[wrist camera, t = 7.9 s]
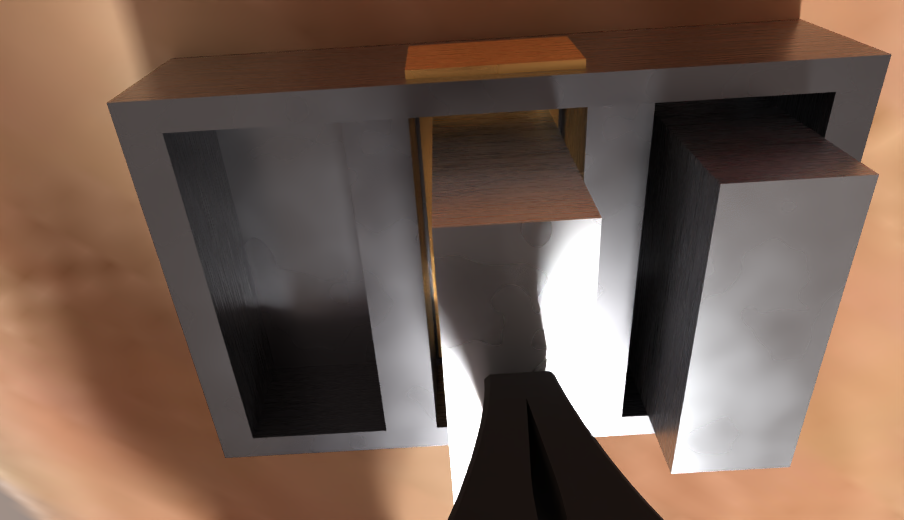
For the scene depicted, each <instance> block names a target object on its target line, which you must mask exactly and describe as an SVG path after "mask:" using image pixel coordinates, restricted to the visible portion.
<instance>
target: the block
mask: <svg viewBox="0 0 904 520" xmlns="http://www.w3.org/2000/svg"><path fill="white" fill-rule="evenodd" d="M601 222H602V217H601V215H600V213H599V211H598V209H597V207H596V205H595V203H594V201H593V199H592V197H591V195H590V193H589V191H588V189H587V187H586V185H585V183H584V181H583V179H582V177H581V175H580V173H579V171H578V169H577V167H576V165H575V163H574V160H573V158H572V156H571V154H570V152H569V150H568V148H567V146H566V144H565V142H564V140H563V138H562V136H561V134H560V132H559V130H558V128H557V126H556V124H555V122H554V120H553V118H552V116H551V114H550V112H549V110H532V111H516V112H499V113H483V114H467V115H451V116H434V117H433V130H432V238H433V250H434V263H435V275H436V288H437V300H438V312H439V325H440V337H441V349H442V362H443V374H444V387H445V399H446V411H447V424H448V436H449V448H450V461H451V473H452V486H453V498H454V504H455V501H456V499H457V496H458V494H459V491H460V488H461V485H462V482H463V480H464V477H465V474H466V471H467V468H468V465H469V462H470V459H471V456H472V452H473V449H474V445H475V441H476V437H477V433H478V429H479V425H480V420H481V415H482V410H483V403H484V391H485V389H484V379H485V378H486V377H487V376H488V375H490V374H504V373H521V372H539V371H551V372H553V373H554V374H555V375H556V377H557V379H558V381H559V383H560V384H561V386H562V388H563V390H564V392H565V393H566V395H567V397H568V398H569V400H570V402H571V403H572V405H573V406H574V408H575V410H576V411H577V413H578V414H579V416H580V417H581V419H582V420H583V422H584V423H585V425H586V426H587V420H588V406H589V392H590V378H591V363H592V349H593V335H594V321H595V307H596V293H597V279H598V265H599V251H600V236H601Z"/></svg>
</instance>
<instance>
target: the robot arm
mask: <svg viewBox="0 0 904 520" xmlns="http://www.w3.org/2000/svg"><path fill="white" fill-rule="evenodd" d="M484 389H485V391H484V403H483V410H482V415H481V420H480V425H479V429H478V433H477V437H476V441H475V445H474V449H473V452H472V456H471V459H470V462H469V465H468V468H467V471H466V474H465V477H464V480H463V482H462V485H461V488H460V491H459V494H458V496H457V499H456V501H455V504H454V506H453V509H452V511H451V514H450V516H449V518H448V520H664V519H663V518H662V517H661V516H660V515H659V514H658V513H657V512H656V511H655V510H654V509H653V508H652V507H651V506H650V505H649V504H648V503H647V502H646V500H645V499H644V498H643V497H642V496H641V495H640V494H639V493H638V491H637V490H636V489H635V488H634V487H633V486H632V485H631V483H630V482H629V481H628V480H627V479H626V477H625V476H624V475H623V474H622V473H621V471H620V470H619V469H618V468H617V466H616V465H615V464H614V463H613V461H612V460H611V459H610V458H609V456H608V455H607V454H606V452H605V451H604V450H603V448H602V447H601V446H600V444H599V443H598V441H597V440H596V439H595V437H594V436H593V435H592V433H591V432H590V431H589V429H588V428H587V426H586V425H585V423H584V422H583V420H582V419H581V417H580V416H579V414H578V413H577V411H576V410H575V408H574V406H573V405H572V403H571V402H570V400H569V398H568V397H567V395H566V393H565V392H564V390H563V388H562V386H561V384H560V383H559V381H558V379H557V377H556V375H555V374H554V373H553V372H551V371H539V372H521V373H504V374H490V375H488V376H487V377H486V378H485V379H484Z"/></svg>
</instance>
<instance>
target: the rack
mask: <svg viewBox="0 0 904 520" xmlns="http://www.w3.org/2000/svg"><path fill="white" fill-rule="evenodd" d="M890 58H891V54H889V53H886V52H884V51H881V50H879V49H876V48H874V47H871V46H868V45H866V44H863V43H861V42H858V41H855V40H853V39H850V38H848V37H845V36H842V35H840V34H837V33H835V32H832V31H829V30H827V29H824V28H822V27H819V26H816V25H814V24H811V23H809V22H806V21H803V20H801V19H799V20H783V21H767V22H751V23H735V24H719V25H703V26H687V27H671V28H655V29H639V30H623V31H607V32H591V33H575V34H559V35H543V36H527V37H511V38H495V39H479V40H463V41H447V42H431V43H415V44H399V45H382V46H366V47H350V48H334V49H318V50H302V51H286V52H270V53H254V54H238V55H222V56H206V57H190V58H174V59H170V60H169V61H167V62H166V63H164V64H163V65H161V66H160V67H159V68H157V69H156V70H154V71H153V72H151V73H150V74H148V75H147V76H145V77H144V78H142V79H141V80H140V81H138V82H137V83H135V84H134V85H132V86H131V87H129V88H128V89H126V90H125V91H124V92H122V93H121V94H119V95H118V96H116V97H115V98H113V99H112V100H110V101H109V102H107V105H108V108H109V111H110V114H111V117H112V120H113V123H114V126H115V129H116V132H117V135H118V138H119V141H120V144H121V147H122V150H123V153H124V156H125V159H126V162H127V165H128V168H129V171H130V174H131V177H132V180H133V183H134V186H135V189H136V192H137V195H138V198H139V201H140V204H141V207H142V210H143V213H144V216H145V219H146V222H147V225H148V228H149V231H150V234H151V237H152V240H153V243H154V246H155V249H156V252H157V255H158V258H159V261H160V264H161V267H162V270H163V273H164V276H165V279H166V282H167V285H168V288H169V291H170V294H171V297H172V300H173V303H174V305H175V308H176V311H177V314H178V317H179V320H180V323H181V326H182V329H183V332H184V335H185V338H186V341H187V344H188V347H189V350H190V353H191V356H192V359H193V362H194V365H195V368H196V371H197V374H198V377H199V380H200V383H201V386H202V389H203V392H204V395H205V398H206V401H207V404H208V407H209V410H210V413H211V416H212V419H213V422H214V425H215V428H216V431H217V434H218V437H219V440H220V443H221V446H222V449H223V452H224V455H225V458H233V457H250V456H268V455H285V454H302V453H320V452H337V451H355V450H372V449H390V448H407V447H425V446H442V445H449V436H448V424H447V411H446V399H445V387H444V374H443V362H442V349H441V337H440V325H439V312H438V300H437V288H436V275H435V263H434V250H433V238H432V130H433V117H434V116H451V115H467V114H483V113H499V112H516V111H532V110H549V112H550V114H551V116H552V118H553V120H554V122H555V124H556V126H557V128H558V130H559V132H560V134H561V136H562V138H563V140H564V142H565V144H566V146H567V148H568V150H569V152H570V154H571V156H572V158H573V160H574V163H575V165H576V167H577V169H578V171H579V173H580V175H581V177H582V179H583V181H584V183H585V185H586V187H587V189H588V191H589V193H590V195H591V197H592V199H593V201H594V203H595V205H596V207H597V209H598V211H599V213H600V215H601V217H602V222H601V236H600V251H599V265H598V279H597V293H596V307H595V321H594V335H593V349H592V363H591V378H590V392H589V406H588V420H587V428H588V429H589V431H590V432H591V433H592V435H593V436H594V437H599V436H617V435H634V434H652V433H655V434H656V437H657V439H658V442H659V444H660V447H661V449H662V452H663V454H664V457H665V459H666V462H667V464H668V467H669V469H670V472H671V474H675V473H693V472H710V471H728V470H746V469H763V468H781V467H790V464H791V461H792V458H793V455H794V451H795V448H796V445H797V442H798V438H799V435H800V432H801V428H802V425H803V422H804V419H805V415H806V412H807V409H808V405H809V402H810V399H811V396H812V392H813V389H814V386H815V383H816V379H817V376H818V373H819V369H820V366H821V363H822V360H823V356H824V353H825V350H826V346H827V343H828V340H829V337H830V333H831V330H832V327H833V324H834V320H835V317H836V314H837V310H838V307H839V304H840V301H841V297H842V294H843V291H844V287H845V284H846V281H847V278H848V274H849V271H850V268H851V265H852V261H853V258H854V255H855V251H856V248H857V245H858V242H859V238H860V235H861V232H862V228H863V225H864V222H865V219H866V215H867V212H868V209H869V205H870V202H871V199H872V196H873V192H874V189H875V186H876V183H877V179H878V176H879V174H877V173H876V172H874V171H873V170H871V169H870V168H868V167H867V166H865V165H864V164H862V163H861V159H862V155H863V152H864V148H865V145H866V141H867V138H868V134H869V131H870V127H871V124H872V120H873V117H874V113H875V110H876V106H877V103H878V99H879V96H880V92H881V89H882V86H883V82H884V79H885V75H886V72H887V68H888V65H889V61H890Z"/></svg>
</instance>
